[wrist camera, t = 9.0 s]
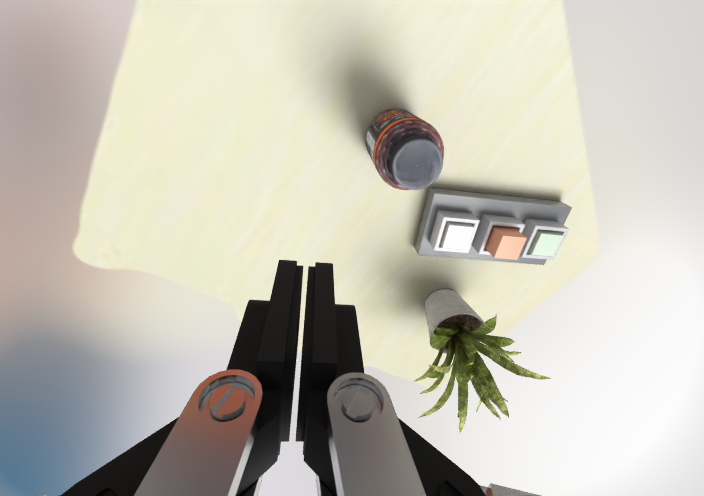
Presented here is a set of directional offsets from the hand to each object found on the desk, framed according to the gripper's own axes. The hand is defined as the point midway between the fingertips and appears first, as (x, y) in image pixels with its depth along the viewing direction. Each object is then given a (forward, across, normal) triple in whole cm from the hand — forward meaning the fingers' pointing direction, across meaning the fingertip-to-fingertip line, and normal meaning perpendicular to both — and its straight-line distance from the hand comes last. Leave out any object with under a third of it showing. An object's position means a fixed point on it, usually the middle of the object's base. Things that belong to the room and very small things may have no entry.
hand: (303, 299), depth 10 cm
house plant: (+27, -18, +21) cm, 39 cm away
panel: (+27, -22, +8) cm, 36 cm away
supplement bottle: (+27, -8, -1) cm, 28 cm away
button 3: (+25, -28, +8) cm, 38 cm away
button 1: (+25, -17, +8) cm, 31 cm away
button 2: (+24, -22, +8) cm, 33 cm away
